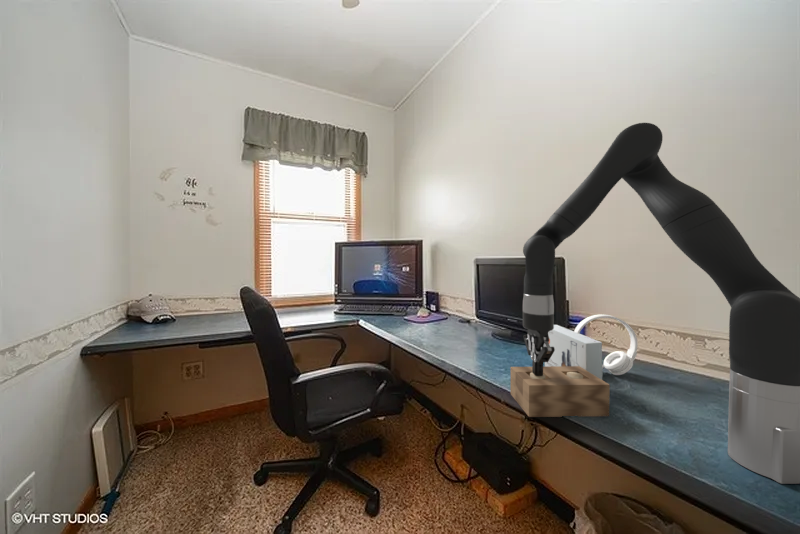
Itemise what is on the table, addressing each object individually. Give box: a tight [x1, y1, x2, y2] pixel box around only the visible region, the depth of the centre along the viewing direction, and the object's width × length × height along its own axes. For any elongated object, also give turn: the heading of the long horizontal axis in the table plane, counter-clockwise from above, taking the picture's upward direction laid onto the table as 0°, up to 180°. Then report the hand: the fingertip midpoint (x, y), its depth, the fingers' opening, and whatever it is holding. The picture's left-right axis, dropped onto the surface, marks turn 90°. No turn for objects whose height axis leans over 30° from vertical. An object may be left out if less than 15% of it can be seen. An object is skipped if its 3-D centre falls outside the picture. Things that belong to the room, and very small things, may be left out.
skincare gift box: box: [544, 324, 603, 380], centre depth 91 cm, size 21×5×16 cm, turn 4°
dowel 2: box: [567, 372, 583, 379], centre depth 77 cm, size 4×4×8 cm
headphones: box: [573, 313, 639, 376], centre depth 97 cm, size 8×19×20 cm, turn 78°
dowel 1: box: [530, 372, 546, 379], centre depth 77 cm, size 4×4×8 cm
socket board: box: [510, 366, 611, 418], centre depth 77 cm, size 20×12×8 cm, turn 90°
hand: (537, 374), depth 77 cm, fingers closed
